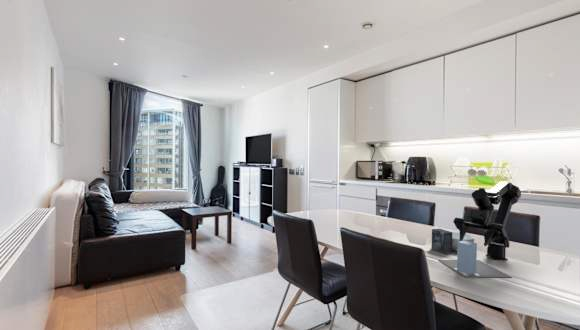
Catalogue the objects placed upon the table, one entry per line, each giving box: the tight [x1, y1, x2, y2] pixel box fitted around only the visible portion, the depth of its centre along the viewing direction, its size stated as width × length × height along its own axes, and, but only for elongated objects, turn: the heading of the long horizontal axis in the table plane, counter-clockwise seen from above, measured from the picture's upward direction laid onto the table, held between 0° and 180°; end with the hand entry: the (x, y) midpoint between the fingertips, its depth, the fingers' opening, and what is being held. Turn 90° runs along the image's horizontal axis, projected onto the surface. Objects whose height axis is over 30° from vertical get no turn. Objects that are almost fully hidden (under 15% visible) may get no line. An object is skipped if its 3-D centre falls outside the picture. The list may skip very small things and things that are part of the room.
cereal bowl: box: [451, 231, 475, 251], centre depth 151 cm, size 17×17×7 cm
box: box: [431, 228, 453, 255], centre depth 146 cm, size 8×6×11 cm
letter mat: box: [438, 259, 512, 279], centre depth 122 cm, size 19×19×1 cm
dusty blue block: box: [456, 240, 478, 275], centre depth 117 cm, size 5×5×12 cm
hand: (472, 242), depth 120 cm, fingers open, 9 cm apart
